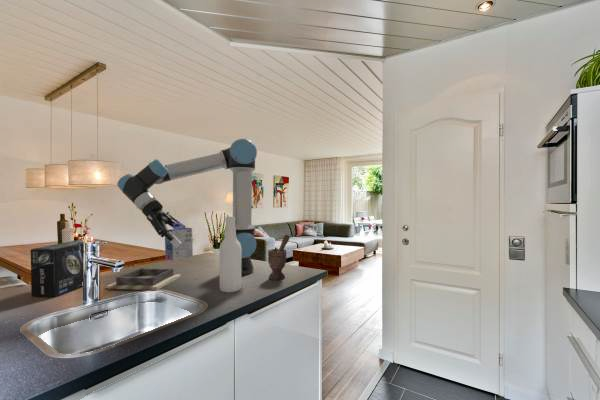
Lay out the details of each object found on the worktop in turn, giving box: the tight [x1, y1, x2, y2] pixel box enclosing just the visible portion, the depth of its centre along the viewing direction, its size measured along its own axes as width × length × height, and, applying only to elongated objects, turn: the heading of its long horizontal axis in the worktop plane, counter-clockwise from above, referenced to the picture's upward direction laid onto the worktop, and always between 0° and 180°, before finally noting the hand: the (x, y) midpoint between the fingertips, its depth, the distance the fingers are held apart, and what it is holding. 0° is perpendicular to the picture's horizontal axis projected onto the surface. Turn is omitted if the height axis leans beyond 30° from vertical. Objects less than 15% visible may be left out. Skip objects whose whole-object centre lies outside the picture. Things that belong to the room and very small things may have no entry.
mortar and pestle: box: [267, 234, 291, 281], centre depth 140 cm, size 12×9×20 cm
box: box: [30, 239, 84, 299], centre depth 123 cm, size 23×10×19 cm, turn 177°
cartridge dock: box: [106, 267, 182, 291], centre depth 132 cm, size 22×20×4 cm
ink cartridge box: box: [164, 223, 194, 262], centre depth 121 cm, size 10×6×14 cm, turn 149°
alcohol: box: [218, 216, 242, 293], centre depth 121 cm, size 9×9×30 cm
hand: (185, 243), depth 121 cm, fingers closed on ink cartridge box, 11 cm apart
